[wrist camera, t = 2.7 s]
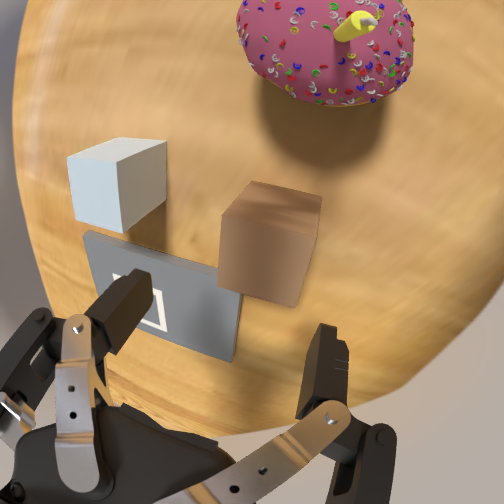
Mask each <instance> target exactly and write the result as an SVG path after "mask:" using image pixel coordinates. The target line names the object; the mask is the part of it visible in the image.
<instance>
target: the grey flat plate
mask: <svg viewBox="0 0 504 504" xmlns="http://www.w3.org/2000/svg"><path fill="white" fill-rule="evenodd" d="M83 240H84V244H85V249H86V253H87V257H88V261H89V265H90V269H91V272H92V276H93V280H94V283H95V286H96V290H97V293H98V296H99V297H100V295H101V294H103V292H104V291H105V290H106V289H107V288H108V287H109V286H110V285H111V284H112V283H113V282H114V281H115V280H116V279H118V278H120V277H122V276H123V275H125V276H128V275H129V274H130V272H131V271H132V270H133V269H135V268H137V269H140V270H143V271H146V272H149V273H150V274H151V279H152V287H153V295H154V298H153V303H152V305H151V307H150V309H149V310H148V312H147V313H146V314H145V316H144V317H143V318H142V320H141V321H140V322H139V324H138V325H137V327H136V328H138V329H141V330H143V331H145V332H148V333H150V334H153V335H155V336H158V337H160V338H162V339H165V340H168V341H170V342H173V343H175V344H178V345H181V346H183V347H186V348H189V349H192V350H194V351H197V352H200V353H203V354H206V355H209V356H212V357H215V358H218V359H221V360H224V361H227V362H230V363H231V362H232V359H233V357H234V354H235V347H236V339H237V332H238V325H239V318H240V311H241V303H242V296H243V294H241V293H237V292H234V291H230V290H227V289H224V288H220V287H217V279H218V268H214V267H211V266H207V265H204V264H200V263H197V262H193V261H190V260H186V259H183V258H179V257H176V256H173V255H169V254H166V253H162V252H159V251H156V250H152V249H149V248H146V247H142V246H139V245H136V244H132V243H129V242H126V241H123V240H119V239H116V238H113V237H110V236H107V235H103V234H100V233H97V232H94V231H91V230H89V231H88V232H86V233H85V234H84V235H83Z"/></svg>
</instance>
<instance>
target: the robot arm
mask: <svg viewBox="0 0 504 504" xmlns="http://www.w3.org/2000/svg"><path fill="white" fill-rule="evenodd" d="M153 298H154V295H153V287H152V279H151V274H150V273H149V272H146V271H143V270H140V269H137V268H135V269H133V270H132V271H131V272H130V274H129V275H128V276H125V275H123V276H122V277H120V278H118V279H116V280H115V281H114V282H113V283H112V284H111V285H110V286H109V287H108V288H107V289H106V290H105V291H104V292H103V294H101V295H100V297H99V298H98V299H97V300H96V301H95V302H94V303H93V304H92V305H91V306H90V308H89V309H88V310H87V311H86V312H85V313H84V314H76V315H73V316H71V317H69V318H68V319H62V318H56V317H53V315H52V313H51V311H50V310H49V309H47V308H38V309H36V310H34V311H33V312H32V313H31V314H30V315H29V316H28V317H27V319H26V320H25V321H24V322H23V323H22V324H21V326H20V327H19V328H18V329H17V330H16V332H15V333H14V334H13V336H12V337H11V338H10V339H9V341H8V342H7V343H6V344H5V346H4V347H3V349H2V350H1V351H0V438H1V439H2V440H3V441H4V442H5V443H6V444H7V445H8V446H9V447H10V448H11V449H12V450H13V451H14V452H15V463H14V471H13V475H12V478H11V480H10V482H9V483H8V484H7V485H6V486H5V487H4V488H3V489H1V490H0V504H256V501H258V500H259V499H261V498H262V497H264V496H265V495H267V494H268V493H269V492H271V491H273V490H274V489H275V488H277V487H278V486H279V485H281V484H282V483H284V482H285V481H286V480H288V479H289V478H290V477H292V476H293V475H294V474H296V473H297V472H298V471H299V470H301V469H302V468H303V467H304V466H306V465H307V464H308V463H309V462H310V460H312V459H313V458H314V457H315V456H316V455H318V454H319V453H321V454H322V455H325V456H327V457H329V458H331V459H333V460H335V461H336V463H335V467H334V472H333V476H332V480H331V485H330V488H329V492H328V496H327V500H326V503H325V504H389V500H390V494H391V488H392V482H393V473H394V466H395V457H396V445H397V436H396V433H395V431H394V430H393V428H392V427H390V426H389V425H387V424H383V423H379V424H375V425H373V426H370V425H368V424H366V423H364V422H361V421H359V420H357V419H356V418H355V417H354V416H353V415H352V414H351V413H350V411H349V409H348V407H347V387H348V365H349V363H348V362H349V350H348V348H347V345H346V343H345V341H343V340H338V339H337V327H335V326H331V325H327V324H323V323H320V324H319V326H318V328H317V330H316V333H315V335H314V337H313V339H312V341H311V343H310V346H309V349H308V352H307V356H306V362H305V368H304V374H303V380H302V386H301V391H300V396H299V402H298V407H297V412H296V417H295V419H299V420H301V421H300V422H298V423H297V424H296V425H294V426H293V427H292V428H290V429H289V430H288V431H287V432H285V433H283V434H280V435H278V436H277V437H275V438H274V439H272V440H271V441H269V442H268V443H266V444H265V445H263V446H262V447H260V448H259V449H257V450H256V451H254V452H253V453H251V454H250V455H248V456H246V457H245V458H243V459H242V460H240V461H238V462H237V463H236V462H235V460H234V459H233V458H232V457H231V456H230V455H229V454H228V453H227V452H225V451H224V450H222V449H221V448H219V447H218V442H217V441H214V440H211V439H208V438H205V437H202V436H200V435H197V434H194V433H188V432H181V431H174V430H168V429H165V428H163V427H162V426H161V425H159V424H158V423H157V422H155V421H154V420H153V419H151V418H150V417H149V416H148V415H146V414H145V413H144V412H141V411H139V410H137V409H135V408H133V407H131V406H129V405H127V404H125V403H123V404H122V405H121V407H116V406H114V405H113V401H112V398H111V395H110V391H109V384H108V375H107V365H106V357H105V356H106V354H107V353H108V352H110V353H112V354H114V355H117V353H118V352H119V350H120V349H121V348H122V346H123V345H124V343H125V342H126V340H127V339H128V338H129V336H130V335H131V334H132V332H133V331H134V329H135V328H136V327H137V325H138V324H139V322H140V321H141V320H142V318H143V317H144V316H145V314H146V313H147V312H148V310H149V309H150V307H151V305H152V303H153ZM41 346H42V348H43V349H42V350H41V352H40V353H39V354H38V356H37V357H36V358H35V360H34V361H33V362H32V364H31V365H30V361H31V359H32V358H33V356H34V355H35V353H36V352H37V351H38V349H39V348H40V347H41ZM54 379H55V409H56V423H54V424H51V425H48V426H45V427H42V428H39V429H35V430H32V429H33V428H34V427H35V426H36V422H35V420H34V419H35V417H34V416H35V415H34V411H35V410H36V408H37V406H38V405H39V403H40V401H41V400H42V398H43V396H44V395H45V393H46V391H47V390H48V388H49V387H50V385H51V383H52V382H53V380H54Z"/></svg>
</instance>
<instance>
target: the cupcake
mask: <svg viewBox="0 0 504 504" xmlns="http://www.w3.org/2000/svg"><path fill="white" fill-rule="evenodd" d="M236 23H237V28H238V29H237V32H238V33H239V37H240V39H239V44H241V45H243V48H244V51H245V53H246V56H247V58H248V61H249V63H248V64H249V65H251V66H252V68H253V69H254V71H255V72H256V73H258V74H259V75H261V76H262V77H264V78H266V79H267V80H269V81H270V82H272V83H273V84H275V85H276V86H278V87H279V88H281V89H282V90H284V91H286V92H287V93H288V94H290V95H291V96H292V97H293V98H297V99H299V100H302V101H305V102H310V103H314V104H318V105H323V106H330V107H346V106H355V105H361V104H365V103H368V102H372V103H374V102H375V101H376V100H378V99H380V98H381V97H384V96H386V95H389V94H391V93H393V92H394V91H396V90H400V89H401V88H402V84H403V83H404V82H405V81H406V80H407V77H408V76H409V74H410V72H411V71H412V66H413V42H414V41H415V38H414V36H413V26H414V22H413V21H411V17H410V15H409V14H408V13H407V8H406V7H404V5H403V3H402V0H243V2H242V4H241V6H240V8H239V10H238V13H237V18H236ZM412 23H413V24H412ZM240 41H241V42H240ZM399 87H400V88H399Z"/></svg>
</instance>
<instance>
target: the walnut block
mask: <svg viewBox="0 0 504 504" xmlns="http://www.w3.org/2000/svg"><path fill="white" fill-rule="evenodd" d="M321 199H322V197H321V196H317V195H313V194H309V193H305V192H301V191H297V190H292V189H288V188H284V187H279V186H275V185H270V184H266V183H261V182H256V181H251V182H250V183H249V185H248V186H247V187H246V188H245V189H244V190H243V191H242V192H241V194H240V195H239V196H238V197H237V198H236V199H235V200H234V202H233V203H232V204H231V205H230V206H229V207H228V209H227V210H226V211H225V212H224V213H223V214H222V221H221V234H220V248H219V263H218V279H217V287H220V288H224V289H227V290H230V291H234V292H237V293H241V294H244V295H248V296H252V297H255V298H259V299H262V300H266V301H270V302H274V303H277V304H281V305H285V306H289V307H292V308H296V304H297V301H298V298H299V295H300V292H301V289H302V286H303V282H304V279H305V276H306V273H307V269H308V266H309V262H310V259H311V256H312V252H313V249H314V245H315V242H316V238H317V231H318V224H319V216H320V208H321Z"/></svg>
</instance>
